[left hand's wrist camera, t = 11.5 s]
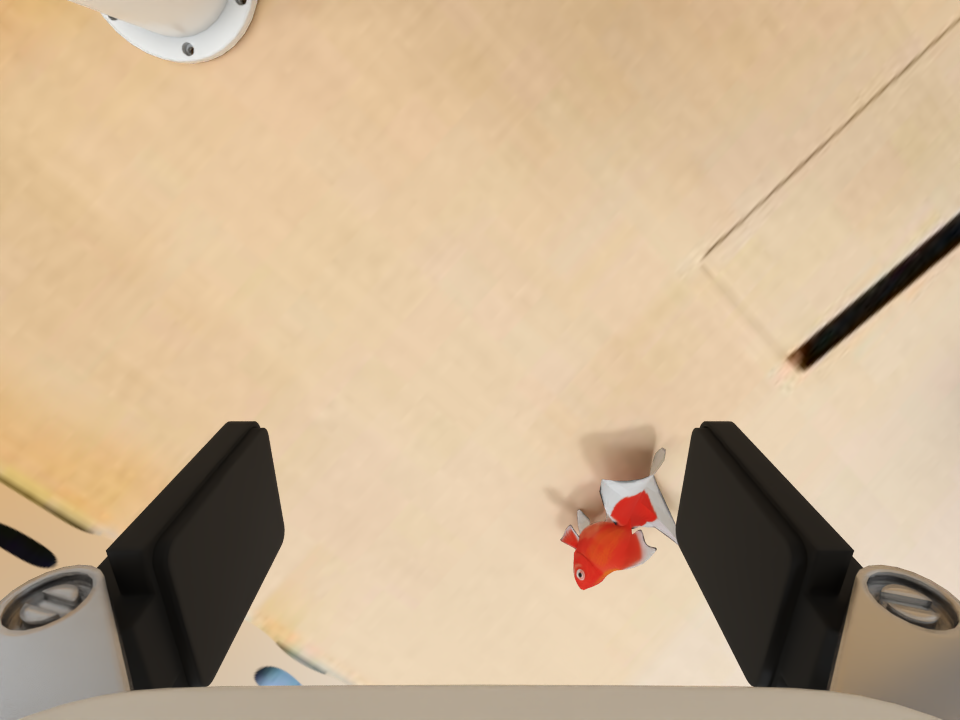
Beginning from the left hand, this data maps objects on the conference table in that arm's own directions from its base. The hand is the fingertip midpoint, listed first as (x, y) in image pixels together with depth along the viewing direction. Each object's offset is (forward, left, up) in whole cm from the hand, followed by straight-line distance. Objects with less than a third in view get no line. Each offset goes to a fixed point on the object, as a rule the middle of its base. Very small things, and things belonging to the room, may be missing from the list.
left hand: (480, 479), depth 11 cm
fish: (+24, -19, -36) cm, 47 cm away
